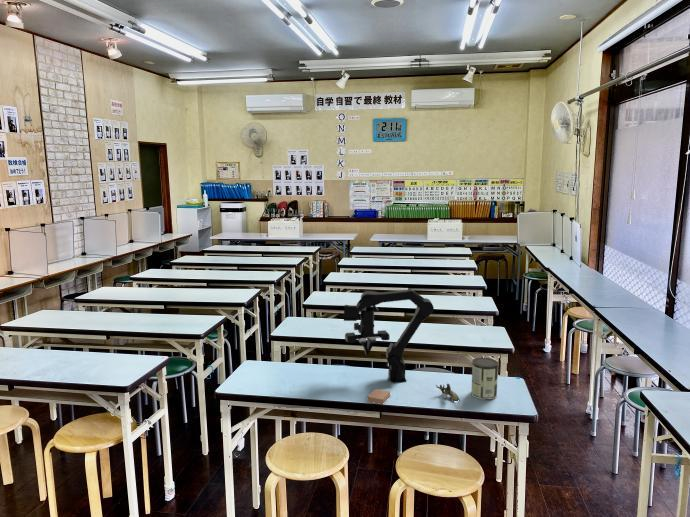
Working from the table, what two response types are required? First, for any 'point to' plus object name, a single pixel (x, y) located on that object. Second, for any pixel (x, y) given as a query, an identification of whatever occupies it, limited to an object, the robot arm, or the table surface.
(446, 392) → the antlered deer figurine
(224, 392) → the table surface
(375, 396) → the glazed tile
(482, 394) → the coffee can
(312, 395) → the table surface
